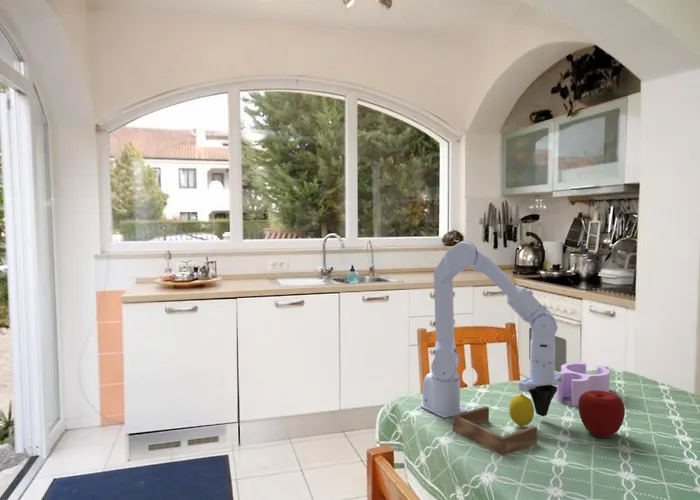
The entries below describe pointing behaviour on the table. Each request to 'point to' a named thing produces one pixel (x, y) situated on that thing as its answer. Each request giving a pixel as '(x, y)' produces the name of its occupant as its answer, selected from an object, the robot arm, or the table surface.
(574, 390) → the clip
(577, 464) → the table surface
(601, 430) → the apple
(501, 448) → the frame
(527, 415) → the lemon
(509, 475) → the table surface
